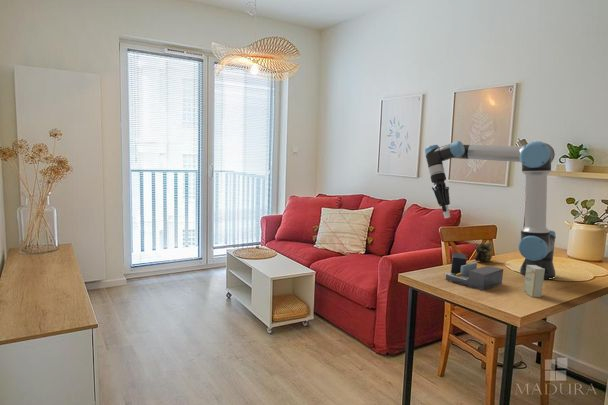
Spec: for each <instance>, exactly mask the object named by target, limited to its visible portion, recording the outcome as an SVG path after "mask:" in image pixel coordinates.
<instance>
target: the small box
mask: <svg viewBox="0 0 608 405" xmlns="http://www.w3.org/2000/svg"><path fill="white" fill-rule="evenodd" d="M466 264H467V254H464V253H459V252H458V253H457V252H452V257H451V267H450V273H454V274H458V273H460V272H461V266H462V265H466Z"/></svg>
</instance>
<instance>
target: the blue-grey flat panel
mask: <svg viewBox="0 0 608 405" xmlns="http://www.w3.org/2000/svg"><path fill="white" fill-rule="evenodd" d="M477 265H478V263H477V262H476V261H474V262H471V263H466V265H462V266H461V272H460V273H458V274H456V276H458V275H461V276H464V277H468V278H469V271H470V270H474V269H477V267H478V266H477Z"/></svg>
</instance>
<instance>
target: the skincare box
mask: <svg viewBox="0 0 608 405" xmlns="http://www.w3.org/2000/svg"><path fill="white" fill-rule="evenodd" d="M544 273H545V269H543V268H541V267H539V266H537V265H527V266H526V274H525V275H524V282H523V291H522V292H523V293H524V294H526V295H528V296H529V297H531V298H542V292H543V287H544V280H545V279H544Z"/></svg>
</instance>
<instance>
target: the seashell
mask: <svg viewBox="0 0 608 405" xmlns="http://www.w3.org/2000/svg"><path fill="white" fill-rule="evenodd" d="M492 246H493V245H492V243H491V242H488V243H479V244H477V245H476V246H475V252H476V256H475V259H474V260H475V262H476V261H477V262H484V263H487V262H490V261H491V259H492V258H493V257H492V253H491V252H492V251H493V249H492Z"/></svg>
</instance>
